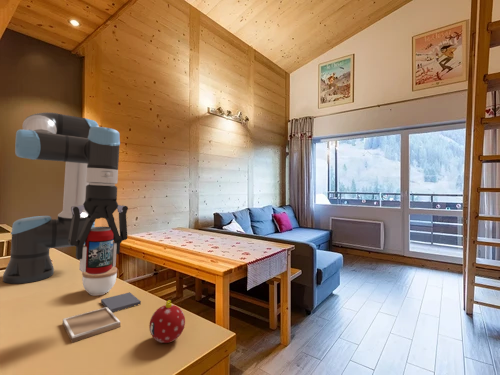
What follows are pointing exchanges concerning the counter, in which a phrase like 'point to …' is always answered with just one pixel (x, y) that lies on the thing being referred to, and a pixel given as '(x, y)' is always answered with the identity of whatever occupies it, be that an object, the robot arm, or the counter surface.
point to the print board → (90, 324)
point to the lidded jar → (99, 282)
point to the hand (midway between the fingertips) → (98, 267)
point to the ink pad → (120, 302)
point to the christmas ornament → (167, 323)
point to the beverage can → (99, 250)
